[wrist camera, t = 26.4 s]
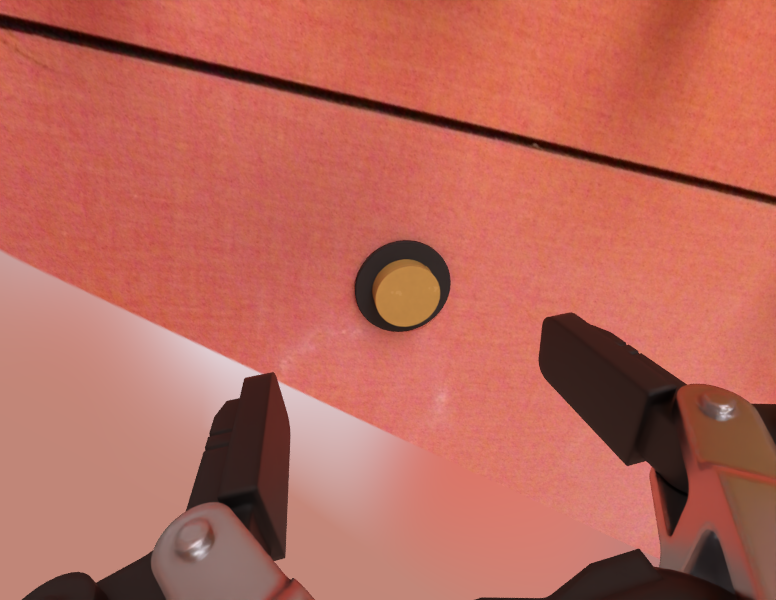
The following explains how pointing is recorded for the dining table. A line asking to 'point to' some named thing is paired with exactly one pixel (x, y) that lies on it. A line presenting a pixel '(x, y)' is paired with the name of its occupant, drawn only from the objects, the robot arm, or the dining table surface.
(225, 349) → the dining table surface
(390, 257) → the coaster
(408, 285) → the lid
